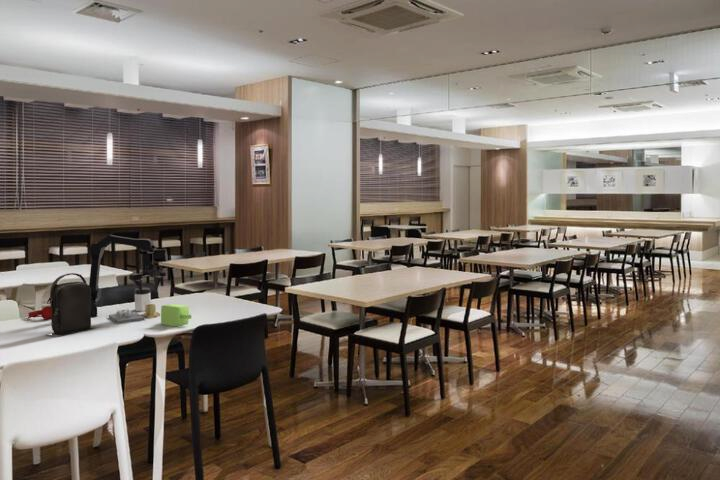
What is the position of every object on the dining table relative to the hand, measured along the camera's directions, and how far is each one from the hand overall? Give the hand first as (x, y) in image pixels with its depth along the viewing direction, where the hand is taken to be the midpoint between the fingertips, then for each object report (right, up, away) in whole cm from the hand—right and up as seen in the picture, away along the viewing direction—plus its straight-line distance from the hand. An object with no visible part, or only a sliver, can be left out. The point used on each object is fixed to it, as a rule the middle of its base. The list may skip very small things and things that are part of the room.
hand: (148, 291), depth 310 cm
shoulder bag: (-23, -16, -35) cm, 45 cm away
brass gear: (+2, -13, -3) cm, 14 cm away
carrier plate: (-8, -14, -9) cm, 18 cm away
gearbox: (+22, -15, -21) cm, 34 cm away
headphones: (-53, -14, -2) cm, 55 cm away
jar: (-8, -12, +14) cm, 20 cm away
